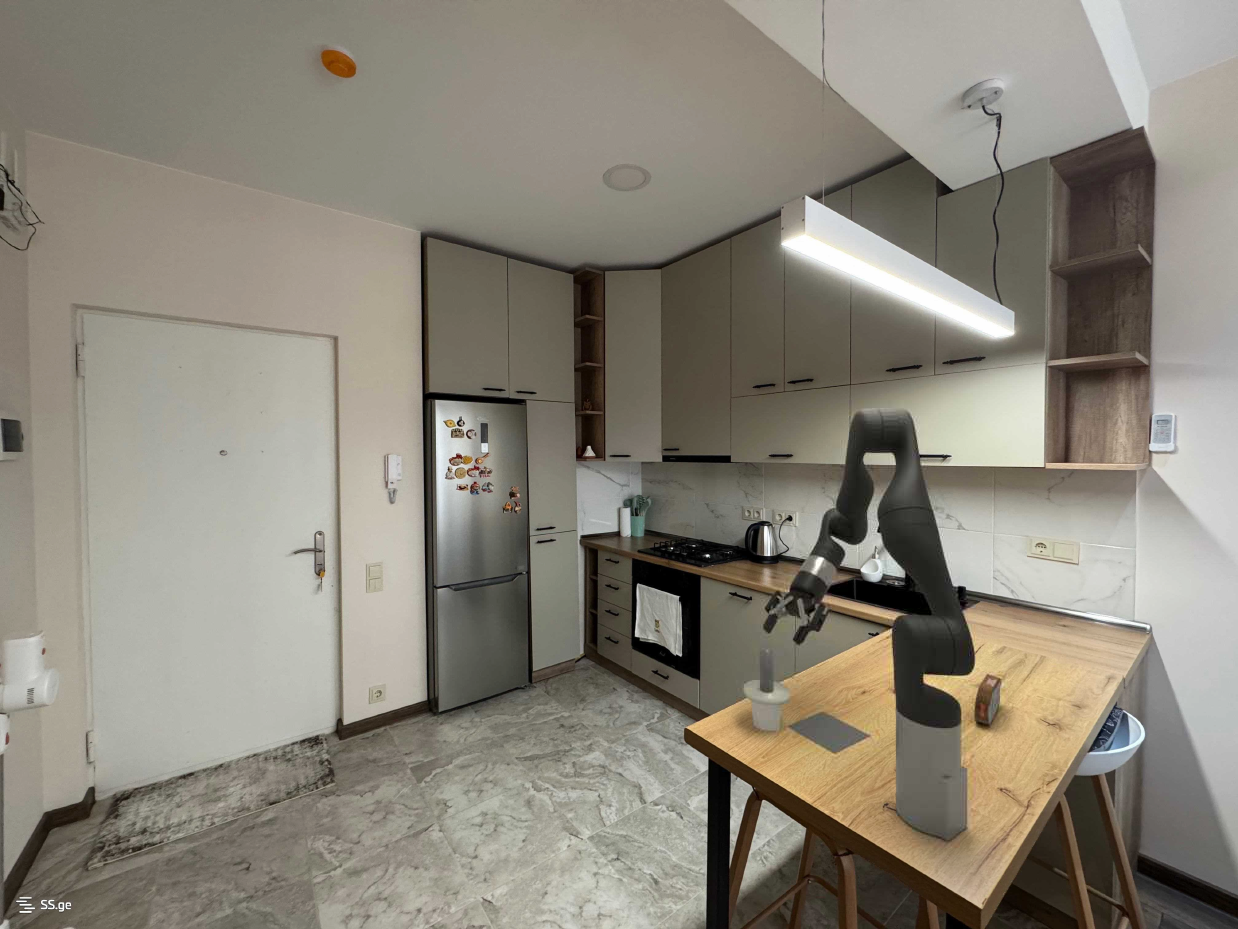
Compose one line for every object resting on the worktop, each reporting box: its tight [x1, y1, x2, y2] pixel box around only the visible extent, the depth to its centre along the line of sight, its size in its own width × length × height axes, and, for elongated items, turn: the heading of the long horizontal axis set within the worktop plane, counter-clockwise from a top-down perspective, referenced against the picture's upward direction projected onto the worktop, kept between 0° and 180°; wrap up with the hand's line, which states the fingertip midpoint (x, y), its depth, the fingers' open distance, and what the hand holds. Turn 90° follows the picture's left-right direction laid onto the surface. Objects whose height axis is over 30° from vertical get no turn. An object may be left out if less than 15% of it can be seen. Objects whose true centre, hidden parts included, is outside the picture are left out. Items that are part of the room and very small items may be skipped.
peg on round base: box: [743, 646, 792, 705], centre depth 112 cm, size 10×10×10 cm
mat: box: [786, 710, 872, 754], centre depth 109 cm, size 12×12×1 cm
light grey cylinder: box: [750, 700, 783, 732], centre depth 112 cm, size 7×7×7 cm
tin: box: [973, 673, 1002, 726], centre depth 115 cm, size 15×3×8 cm, turn 134°
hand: (780, 637), depth 114 cm, fingers open, 8 cm apart
